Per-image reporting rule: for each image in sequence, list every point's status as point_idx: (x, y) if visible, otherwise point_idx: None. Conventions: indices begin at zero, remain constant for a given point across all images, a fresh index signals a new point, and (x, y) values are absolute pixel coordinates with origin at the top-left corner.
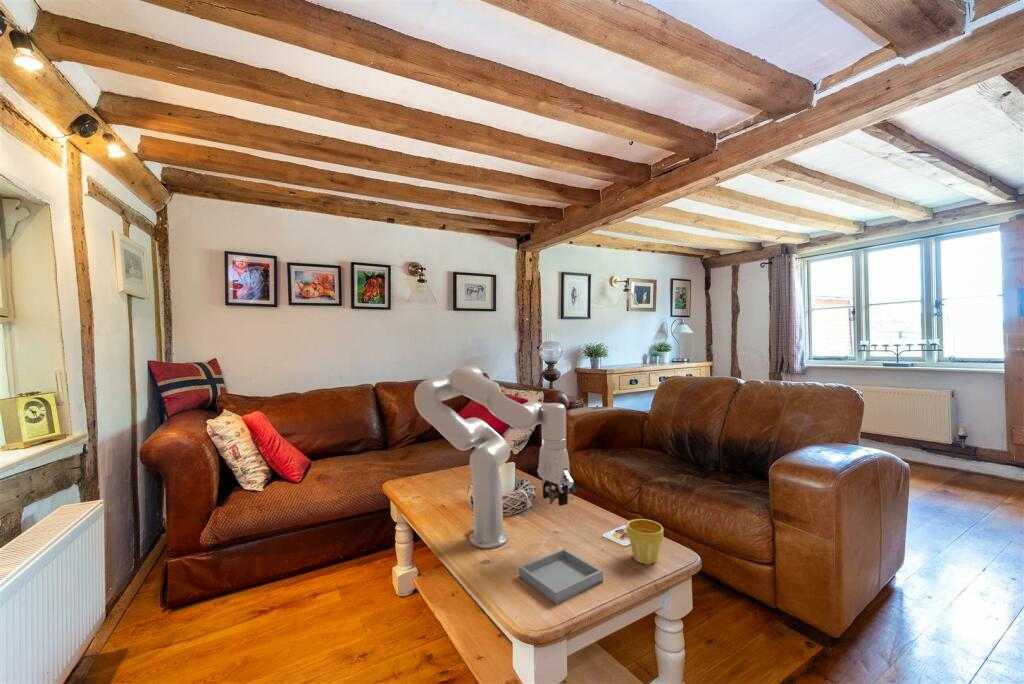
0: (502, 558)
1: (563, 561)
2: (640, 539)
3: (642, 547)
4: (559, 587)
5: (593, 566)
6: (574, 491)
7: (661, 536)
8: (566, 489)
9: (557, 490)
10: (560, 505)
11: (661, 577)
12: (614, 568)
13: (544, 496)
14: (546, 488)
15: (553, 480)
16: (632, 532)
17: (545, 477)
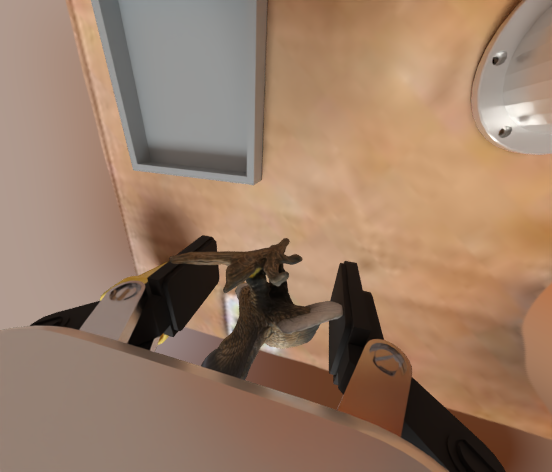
0: (405, 11)
1: (241, 158)
2: (121, 281)
3: (139, 275)
4: (156, 50)
5: (153, 168)
6: (205, 360)
7: None
8: (65, 311)
9: (255, 330)
10: (203, 238)
11: (129, 245)
12: (178, 220)
13: (343, 268)
14: (319, 313)
15: (23, 370)
16: None
17: (221, 441)
